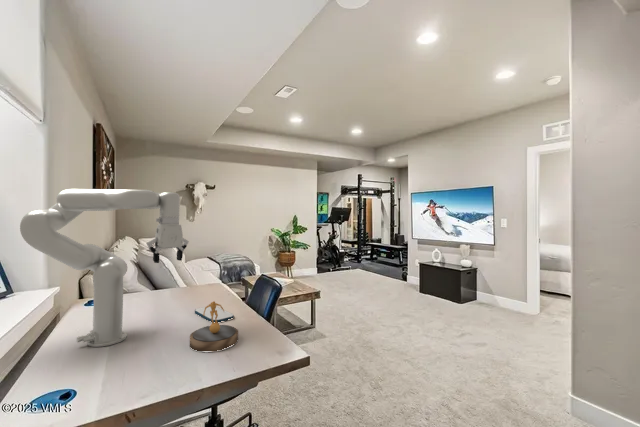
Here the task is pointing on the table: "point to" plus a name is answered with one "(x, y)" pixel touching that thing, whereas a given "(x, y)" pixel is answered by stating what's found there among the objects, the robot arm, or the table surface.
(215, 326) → the figurine
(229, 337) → the walnut stand
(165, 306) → the table surface
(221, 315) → the external hard drive
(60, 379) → the table surface
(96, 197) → the robot arm
